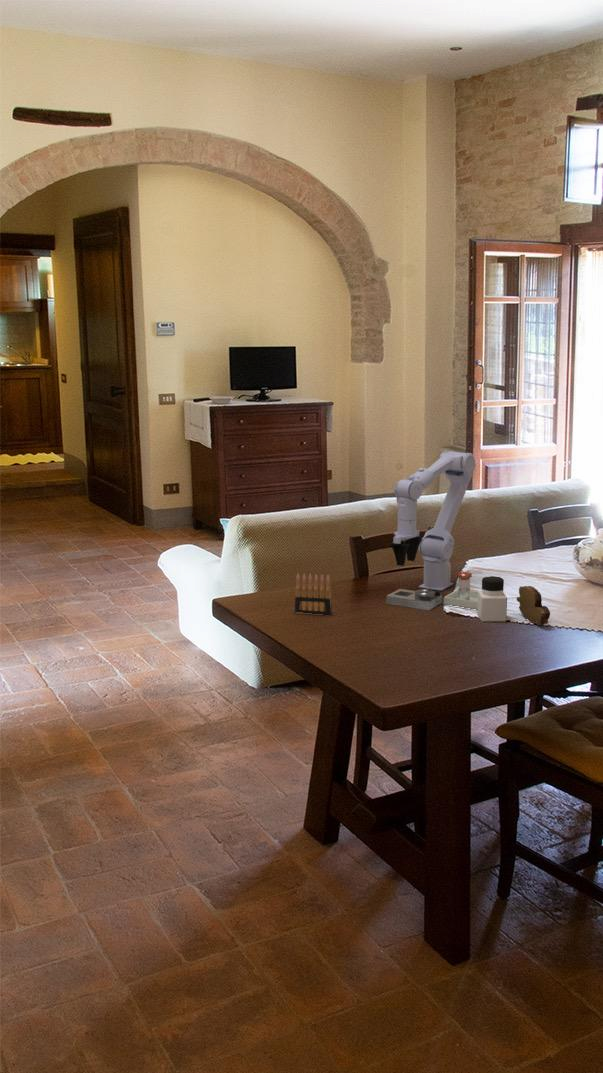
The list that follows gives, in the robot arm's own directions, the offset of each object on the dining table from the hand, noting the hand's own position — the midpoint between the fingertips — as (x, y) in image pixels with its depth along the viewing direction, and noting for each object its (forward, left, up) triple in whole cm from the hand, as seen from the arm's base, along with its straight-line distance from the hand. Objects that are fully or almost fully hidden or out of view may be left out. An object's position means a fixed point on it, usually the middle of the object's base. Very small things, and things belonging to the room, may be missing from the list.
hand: (405, 562), depth 302 cm
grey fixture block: (+6, +6, -10) cm, 14 cm away
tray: (-2, +20, -10) cm, 23 cm away
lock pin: (-1, +19, -10) cm, 21 cm away
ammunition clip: (+31, -15, -11) cm, 36 cm away
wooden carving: (+6, +42, -11) cm, 44 cm away
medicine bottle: (+9, +31, -11) cm, 34 cm away
